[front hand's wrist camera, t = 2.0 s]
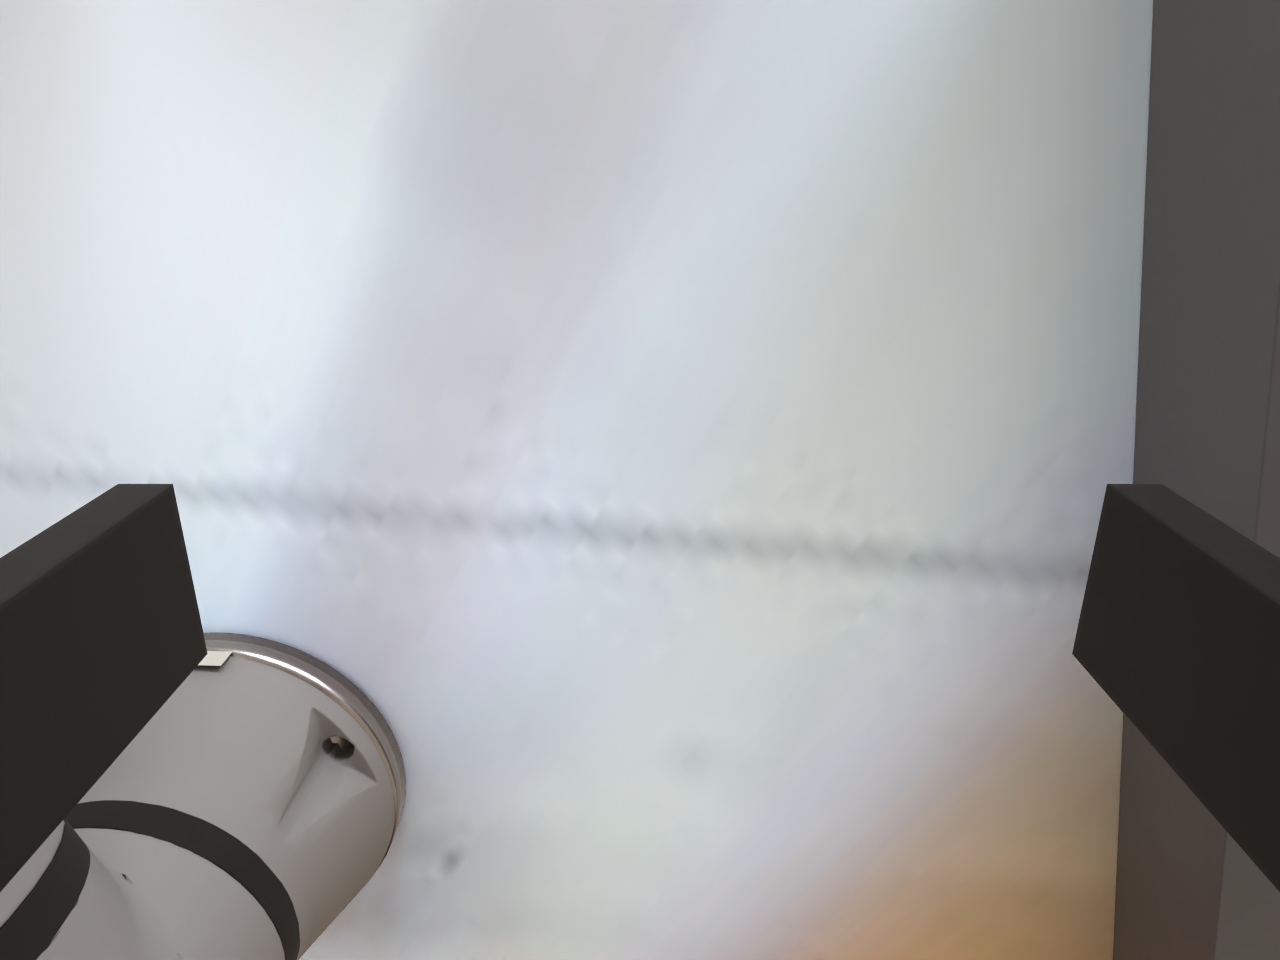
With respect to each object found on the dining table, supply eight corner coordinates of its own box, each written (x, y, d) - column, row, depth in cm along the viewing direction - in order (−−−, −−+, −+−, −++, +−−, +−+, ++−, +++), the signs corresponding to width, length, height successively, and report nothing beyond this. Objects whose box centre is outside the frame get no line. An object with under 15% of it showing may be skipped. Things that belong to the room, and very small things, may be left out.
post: (1193, 1134, 50) (1283, 1297, 43) (1104, 1143, 50) (1179, 1305, 43) (1339, -370, 26) (1599, -567, 19) (1166, -334, 26) (1358, -514, 19)
